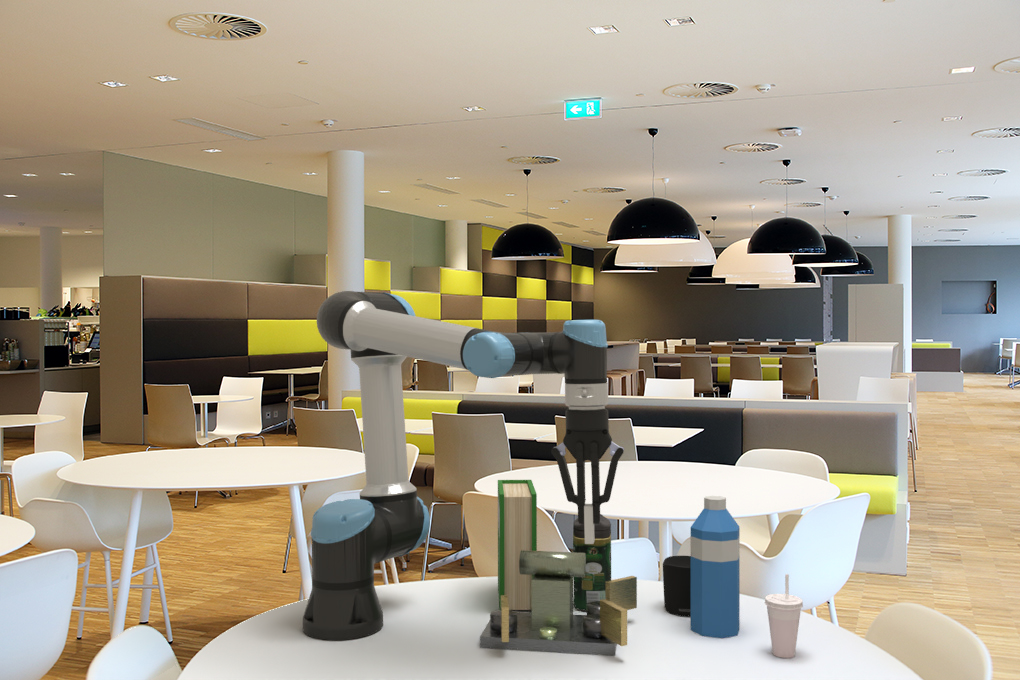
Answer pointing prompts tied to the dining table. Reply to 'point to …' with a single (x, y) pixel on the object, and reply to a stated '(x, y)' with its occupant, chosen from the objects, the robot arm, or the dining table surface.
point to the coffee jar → (593, 563)
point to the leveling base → (548, 645)
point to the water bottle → (715, 571)
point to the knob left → (503, 619)
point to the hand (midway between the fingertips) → (589, 542)
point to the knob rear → (617, 595)
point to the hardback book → (515, 540)
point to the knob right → (607, 623)
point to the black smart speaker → (677, 585)
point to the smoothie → (784, 621)
